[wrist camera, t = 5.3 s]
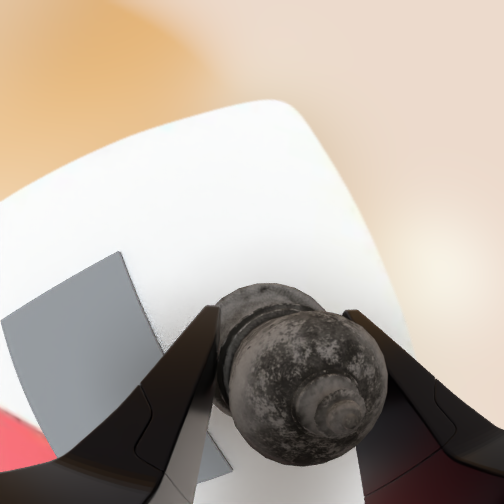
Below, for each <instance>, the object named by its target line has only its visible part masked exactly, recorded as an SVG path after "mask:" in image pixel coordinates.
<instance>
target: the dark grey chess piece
mask: <svg viewBox="0 0 504 504" xmlns="http://www.w3.org/2000/svg"><path fill="white" fill-rule="evenodd" d="M215 306H220V308H221V333H220V347H219V356H218V360H217V383H216V389H215V393H214V398H213V404H214V405H216V406H217V407H218V408H219V409H220V410H221V411H222V412H224V413H225V414H227V415H229V416H231V417H233V420H234V423H235V426H236V428H237V429H238V431H239V432H240V433H241V435H242V436H243V438H244V439H245V440H246V442H247V443H248V444H249V445H250V446H251V447H252V448H253V449H255V450H256V451H257V452H259V453H260V454H261V455H263V456H264V457H265V458H268V459H270V460H273V461H275V462H278V463H281V464H283V465H292V466H310V465H317V464H323V463H325V462H328V461H330V460H333V459H335V458H338V457H340V456H342V455H344V454H345V453H347V452H348V451H349V450H351V449H352V448H354V447H355V446H356V445H358V444H359V443H360V442H361V441H362V440H363V439H364V437H365V436H366V435H367V434H368V433H369V432H370V431H371V430H372V428H373V426H374V425H375V423H376V421H377V419H378V418H379V416H380V414H381V412H382V409H383V406H384V402H385V399H386V395H387V382H388V373H387V368H386V364H385V359H384V355H383V354H382V352H381V350H380V348H379V346H378V344H377V342H376V341H375V339H374V338H373V337H372V336H371V335H370V334H369V333H368V332H367V331H366V330H365V329H364V328H363V327H362V326H360V325H358V324H356V323H355V322H353V321H351V320H349V319H347V318H345V317H344V316H342V315H339V314H334V313H330V312H326V311H325V309H324V308H322V307H321V306H320V305H319V304H318V303H317V302H316V301H315V300H314V299H313V298H312V297H311V296H309V295H307V294H305V293H303V292H302V291H300V290H298V289H296V288H294V287H289V286H285V285H281V284H277V283H262V284H254V285H250V286H246V287H243V288H239V289H237V290H235V291H234V292H232V293H230V294H228V295H227V296H225V297H223V298H222V299H221V300H220V301H219V302H218V303H217V304H216V305H215Z"/></svg>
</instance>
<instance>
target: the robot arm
mask: <svg viewBox="0 0 504 504" xmlns="http://www.w3.org/2000/svg"><path fill="white" fill-rule="evenodd" d="M342 316H344V317H345V318H347V319H349V320H351V321H353V322H355V323H356V324H358V325H360V326H362V327H363V328H364V329H365V330H366V331H367V332H368V333H369V334H370V335H371V336H372V337H373V338H374V339H375V341H376V342H377V344H378V346H379V348H380V350H381V352H382V354H383V355H384V359H385V364H386V368H387V373H388V382H387V395H386V399H385V402H384V406H383V409H382V412H381V414H380V416H379V418H378V419H377V421H376V423H375V425H374V426H373V428H372V430H371V431H370V432H369V433H368V434H367V435H366V436H365V437H364V439H363V440H362V441H361V442H360V443H359V444H358V445H356V451H357V457H358V463H359V468H360V474H361V480H362V487H363V493H364V496H365V497H364V501H365V504H504V430H503V429H500V428H498V427H496V426H495V425H493V424H492V423H491V422H489V421H488V420H487V419H485V418H484V417H483V416H481V415H480V414H479V413H477V412H476V411H475V410H474V409H472V408H471V407H470V406H468V405H467V404H466V403H464V402H463V401H462V400H461V399H459V398H458V397H457V396H456V395H454V394H453V393H452V392H451V391H450V390H449V389H447V388H446V387H445V386H444V385H443V384H442V383H441V382H440V381H439V380H437V379H435V377H434V376H433V375H432V374H431V373H430V372H428V371H427V370H426V369H425V368H424V367H423V366H422V365H421V364H419V363H418V362H417V361H416V360H415V359H414V358H413V357H412V356H410V355H409V354H408V353H407V352H406V351H405V350H404V349H403V348H401V347H400V346H399V345H398V344H397V343H396V342H395V341H393V340H392V339H391V338H390V337H389V336H388V335H386V334H385V333H384V332H383V331H382V330H381V329H380V328H378V327H377V326H376V325H375V324H374V323H373V322H371V321H370V320H369V319H368V318H367V317H366V316H364V315H363V314H362V313H361V312H360V311H358V310H345V311H344V312H343V314H342ZM220 333H221V308H220V306H214V305H206V306H205V307H204V308H203V309H202V310H201V312H200V313H199V314H198V315H197V316H196V317H195V319H194V320H193V321H192V322H191V323H190V324H189V326H188V327H187V328H186V329H185V330H184V331H183V333H182V334H181V335H180V336H179V337H178V338H177V340H176V341H175V342H174V343H173V344H172V346H171V347H170V348H169V349H168V350H167V351H166V353H165V354H164V355H163V356H162V357H161V358H160V360H159V361H158V362H157V363H156V364H155V365H154V367H153V368H152V369H151V370H150V371H149V372H148V374H147V375H146V376H145V377H144V378H143V379H142V381H141V382H140V385H137V386H136V387H135V389H134V390H133V391H132V392H131V393H130V395H129V396H128V397H127V398H126V399H125V400H124V401H123V402H122V403H121V404H120V405H119V407H118V408H117V409H116V410H114V411H113V412H112V413H111V414H110V415H109V416H108V417H107V418H106V419H105V420H104V421H103V422H102V423H101V424H99V425H98V426H97V427H96V428H95V429H94V430H93V431H92V432H90V433H89V434H88V435H87V436H86V437H85V438H84V439H82V440H81V441H80V442H79V443H78V444H77V445H76V446H74V447H73V448H72V449H71V450H70V451H68V452H67V453H65V454H64V455H62V456H61V457H59V458H57V459H54V460H52V461H49V462H46V463H42V464H38V465H34V466H29V467H25V468H20V469H16V470H10V471H5V472H0V504H193V500H194V495H195V490H196V485H197V479H198V474H199V469H200V464H201V459H202V454H203V449H204V444H205V439H206V433H207V428H208V423H209V418H210V413H211V408H212V403H213V398H214V393H215V389H216V383H217V360H218V356H219V347H220Z"/></svg>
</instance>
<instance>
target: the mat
mask: <svg viewBox="0 0 504 504" xmlns="http://www.w3.org/2000/svg"><path fill="white" fill-rule="evenodd" d="M1 325H2V328H3V332H4V336H5V339H6V343H7V346H8V349H9V352H10V355H11V358H12V361H13V364H14V367H15V370H16V373H17V375H18V378H19V381H20V383H21V386H22V388H23V391H24V393H25V395H26V398H27V400H28V402H29V405H30V407H31V409H32V411H33V413H34V415H35V417H36V419H37V422H38V424H39V425H40V427H41V429H42V431H43V433H44V435H45V437H46V439H47V441H48V442H49V444H50V446H51V448H52V449H53V451H54V453H55V454H56V456H57V458H59V457H61V456H62V455H64V454H65V453H67V452H68V451H70V450H71V449H72V448H73V447H74V446H76V445H77V444H78V443H79V442H80V441H81V440H82V439H84V438H85V437H86V436H87V435H88V434H89V433H90V432H92V431H93V430H94V429H95V428H96V427H97V426H98V425H99V424H101V423H102V422H103V421H104V420H105V419H106V418H107V417H108V416H109V415H110V414H111V413H112V412H113V411H114V410H116V409H117V408H118V407H119V405H120V404H121V403H122V402H123V401H124V400H125V399H126V398H127V397H128V396H129V395H130V393H131V392H132V391H133V390H134V389H135V387H136V386H137V385H140V382H141V381H142V379H143V378H144V377H145V376H146V375H147V374H148V372H149V371H150V370H151V369H152V368H153V367H154V365H155V364H156V363H157V362H158V361H159V360H160V358H161V357H162V356H163V355H164V353H163V351H162V349H161V347H160V345H159V343H158V341H157V339H156V337H155V335H154V333H153V331H152V328H151V326H150V324H149V322H148V320H147V317H146V315H145V313H144V311H143V308H142V306H141V304H140V301H139V299H138V297H137V294H136V292H135V289H134V287H133V284H132V282H131V279H130V277H129V274H128V272H127V269H126V266H125V264H124V261H123V258H122V256H121V253H120V252H119V251H117V252H116V253H114V254H112V255H110V256H108V257H106V258H104V259H103V260H101V261H99V262H97V263H95V264H94V265H92V266H90V267H88V268H86V269H85V270H83V271H81V272H79V273H78V274H76V275H74V276H72V277H71V278H69V279H67V280H65V281H64V282H62V283H60V284H58V285H57V286H55V287H53V288H52V289H50V290H48V291H47V292H45V293H43V294H42V295H40V296H38V297H37V298H35V299H34V300H32V301H30V302H29V303H27V304H26V305H24V306H22V307H21V308H19V309H18V310H16V311H15V312H13V313H11V314H10V315H8V316H7V317H5V318H4V319H2V320H1ZM230 472H232V468H231V466H230V465H229V464H228V462H227V461H226V459H225V458H224V456H223V455H222V453H221V452H220V450H219V449H218V447H217V446H216V444H215V443H214V441H213V440H212V438H211V437H210V435H209V433H208V432H207V433H206V439H205V444H204V449H203V454H202V459H201V464H200V469H199V474H198V479H197V484H198V483H201V482H204V481H207V480H210V479H213V478H216V477H219V476H222V475H224V474H227V473H230Z"/></svg>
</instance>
